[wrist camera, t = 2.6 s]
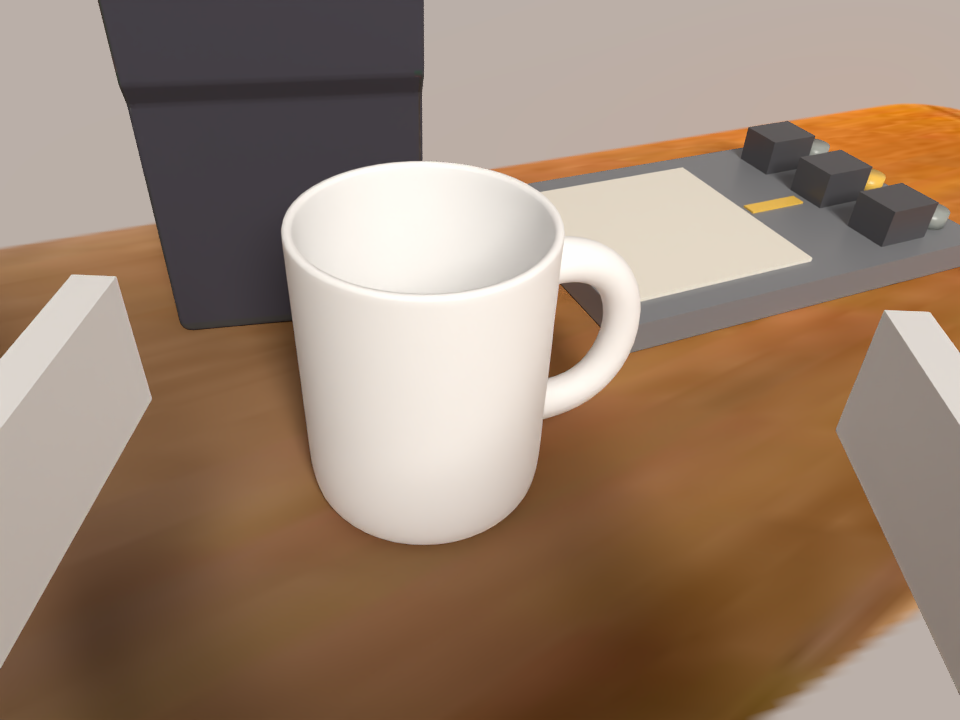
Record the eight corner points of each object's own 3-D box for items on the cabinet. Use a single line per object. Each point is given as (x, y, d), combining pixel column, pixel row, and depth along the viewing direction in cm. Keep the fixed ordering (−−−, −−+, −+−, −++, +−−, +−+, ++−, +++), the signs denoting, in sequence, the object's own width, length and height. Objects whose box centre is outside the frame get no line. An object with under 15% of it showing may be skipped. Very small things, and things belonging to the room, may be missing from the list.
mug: (577, 365, 35) (610, 140, 28) (666, 504, 29) (733, 257, 22) (300, 412, 32) (266, 172, 25) (332, 579, 26) (299, 318, 19)
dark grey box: (412, 268, 40) (406, -58, 31) (426, 317, 37) (424, -32, 28) (187, 287, 38) (108, -57, 29) (180, 340, 35) (89, -28, 26)
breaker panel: (625, 353, 36) (638, 288, 33) (495, 213, 45) (498, 155, 43) (972, 263, 43) (1001, 204, 41) (795, 159, 53) (810, 107, 51)
